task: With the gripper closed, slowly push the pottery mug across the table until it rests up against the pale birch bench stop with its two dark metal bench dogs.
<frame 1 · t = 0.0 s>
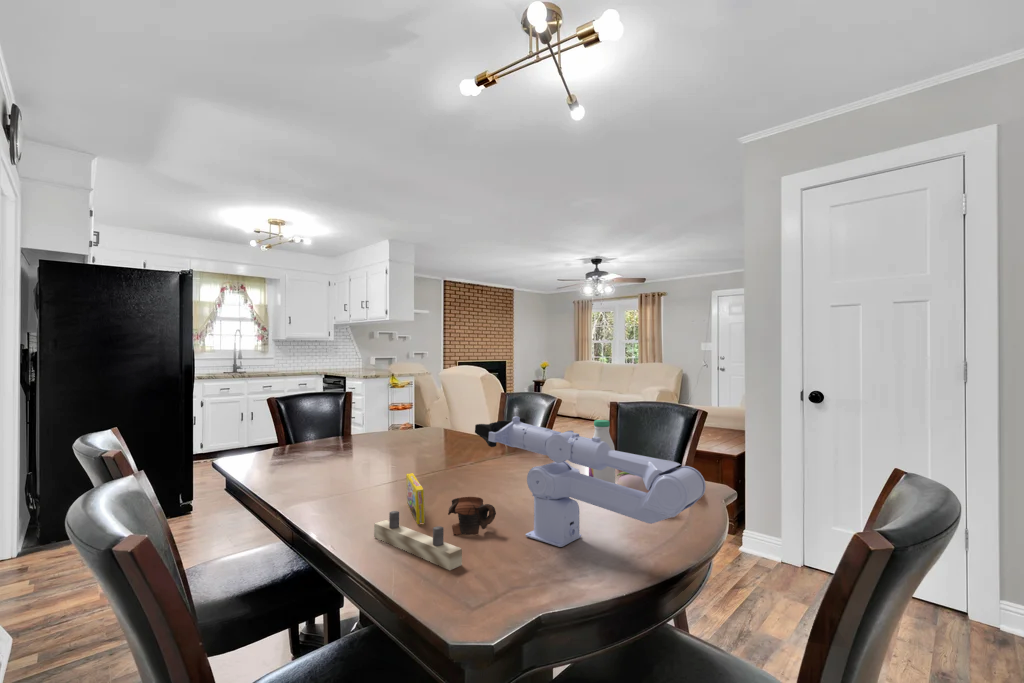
hand: (487, 426, 116), 22 cm above the table, tool horizontal, fingers open, 7 cm apart
bench stop: (414, 550, 96), on the table
decorative fruit: (635, 509, 123), on the table
candy box: (414, 515, 118), on the table
milk bottle: (602, 488, 142), on the table
pottery mug: (471, 530, 108), on the table
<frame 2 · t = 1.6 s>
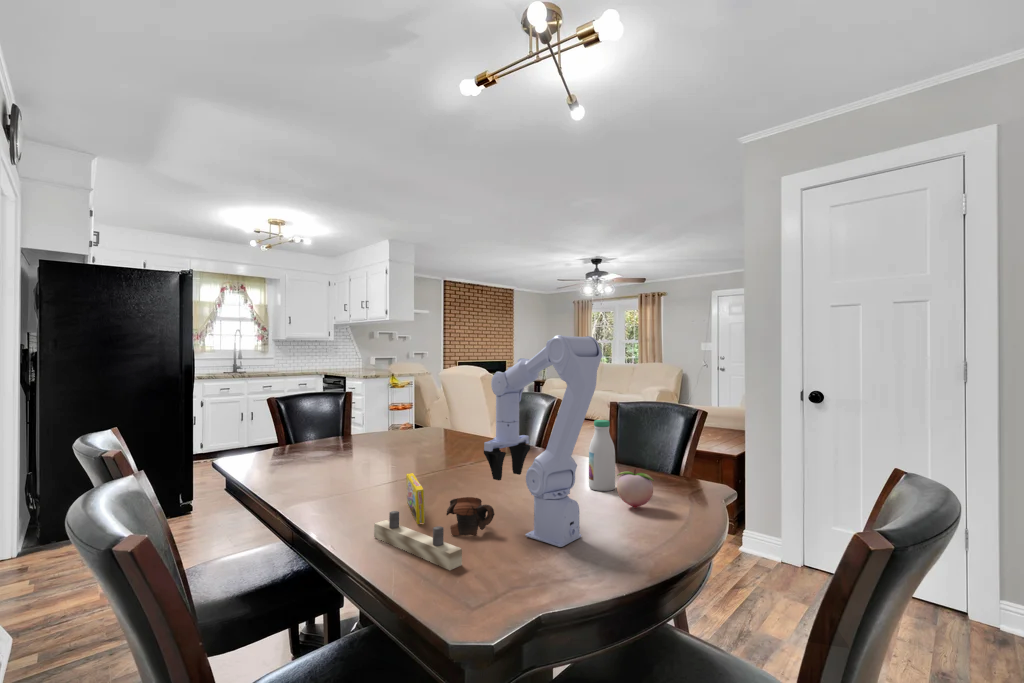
hand: (507, 476, 117), 9 cm above the table, tool pointing down, fingers open, 7 cm apart
nothing on the table moved.
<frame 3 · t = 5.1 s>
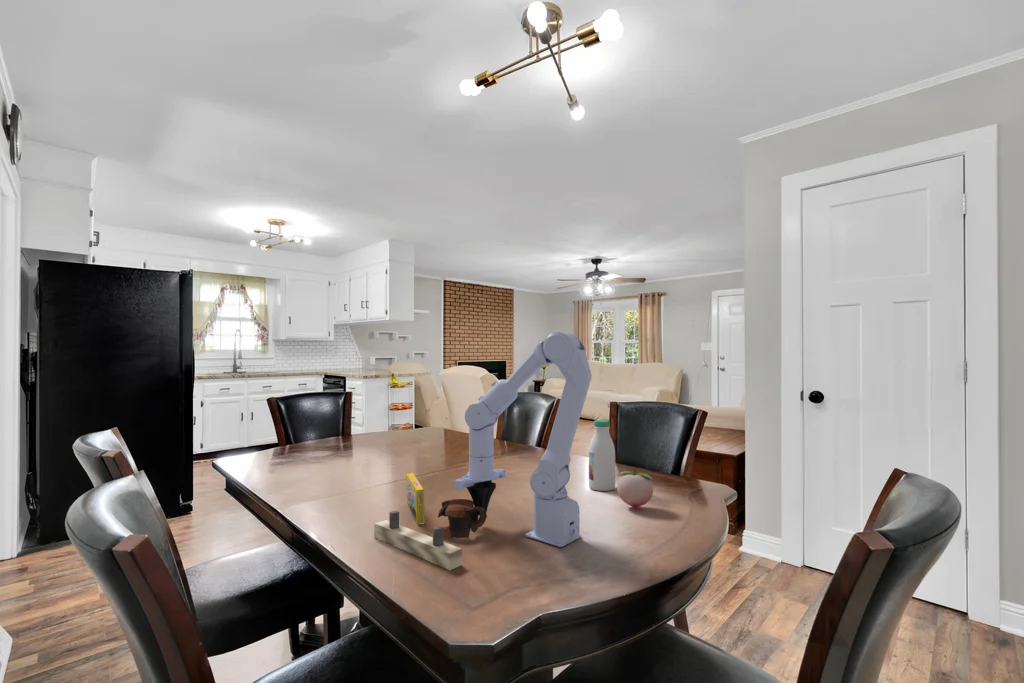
hand: (480, 514, 110), 2 cm above the table, tool pointing down, fingers closed
pottery mug: (462, 533, 105), on the table, touching gripper
everything else where it was.
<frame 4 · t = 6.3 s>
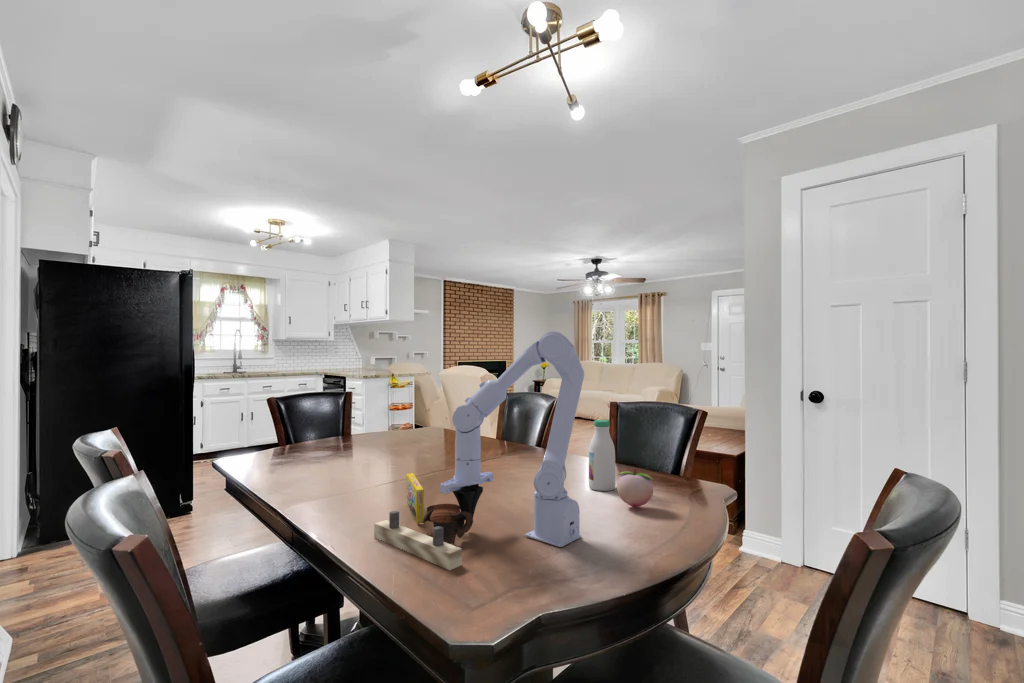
hand: (467, 519, 107), 2 cm above the table, tool pointing down, fingers closed
pottery mug: (447, 539, 102), on the table, touching gripper
everything else where it was.
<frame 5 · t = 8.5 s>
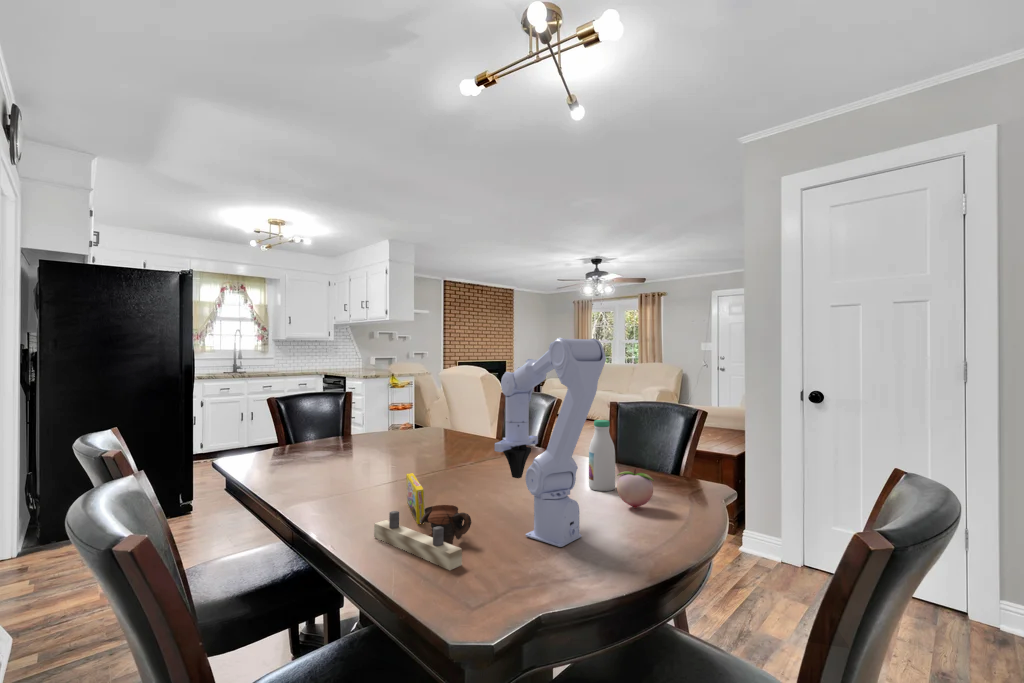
hand: (516, 477, 116), 9 cm above the table, tool pointing down, fingers closed
pottery mug: (445, 540, 102), on the table
everything else where it was.
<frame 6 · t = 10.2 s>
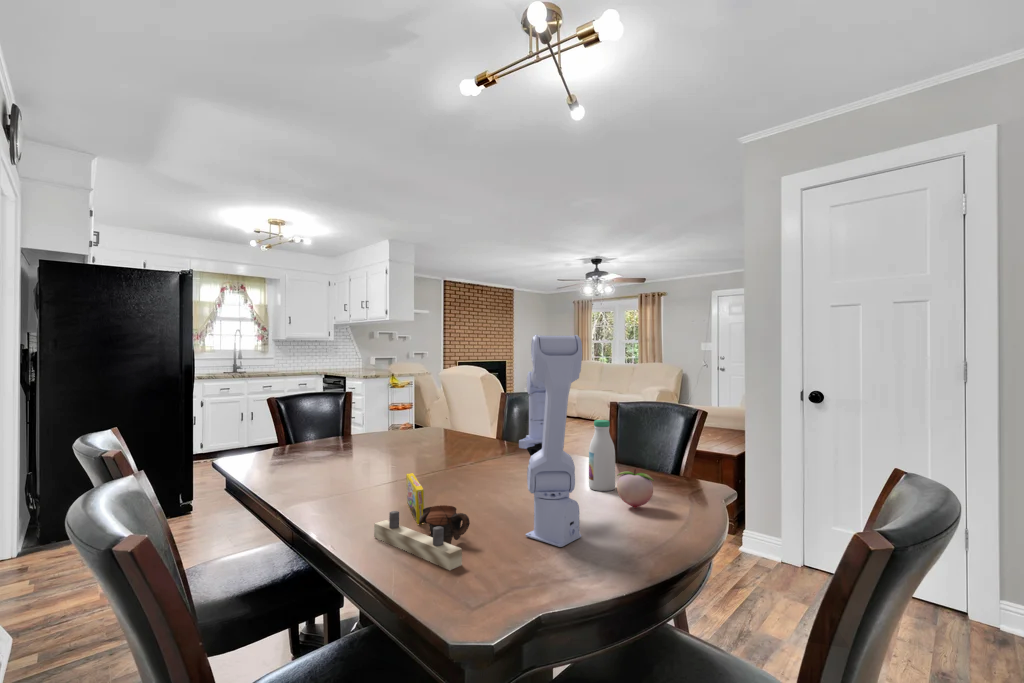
hand: (540, 473, 121), 9 cm above the table, tool pointing down, fingers closed
nothing on the table moved.
at the end: pottery mug inside the target area (0.8 cm from its centre), on the table; pottery mug moved 8.5 cm from its start; pottery mug tilted 1° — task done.
